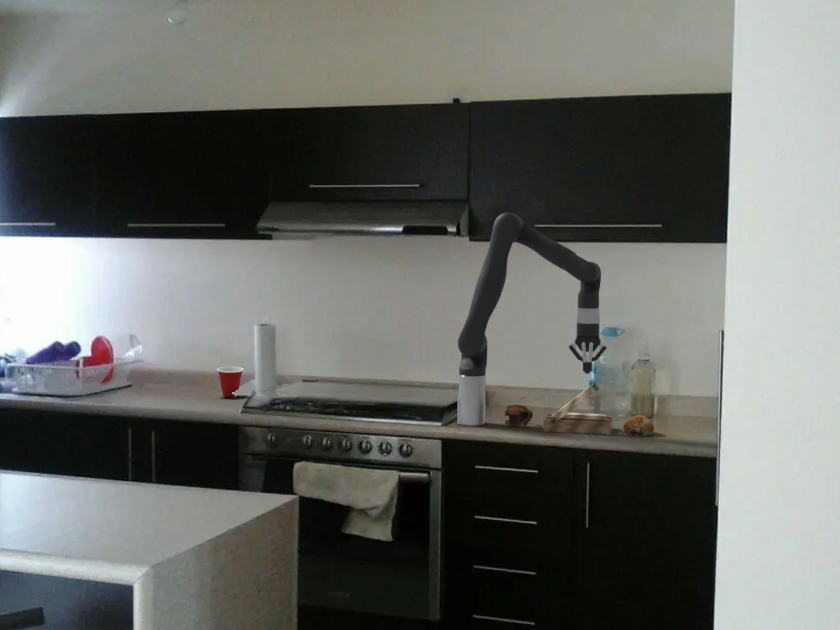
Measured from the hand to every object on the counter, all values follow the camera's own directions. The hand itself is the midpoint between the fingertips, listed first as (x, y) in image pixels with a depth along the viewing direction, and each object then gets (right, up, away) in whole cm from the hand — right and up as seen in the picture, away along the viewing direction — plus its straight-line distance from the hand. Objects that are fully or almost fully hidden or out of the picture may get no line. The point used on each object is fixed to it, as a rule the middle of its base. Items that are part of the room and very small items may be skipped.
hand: (587, 373), depth 306 cm
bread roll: (+17, -20, -1) cm, 26 cm away
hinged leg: (-3, -11, +2) cm, 12 cm away
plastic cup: (-134, -15, +72) cm, 153 cm away
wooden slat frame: (-2, -20, +5) cm, 20 cm away
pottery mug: (-22, -19, +12) cm, 31 cm away
